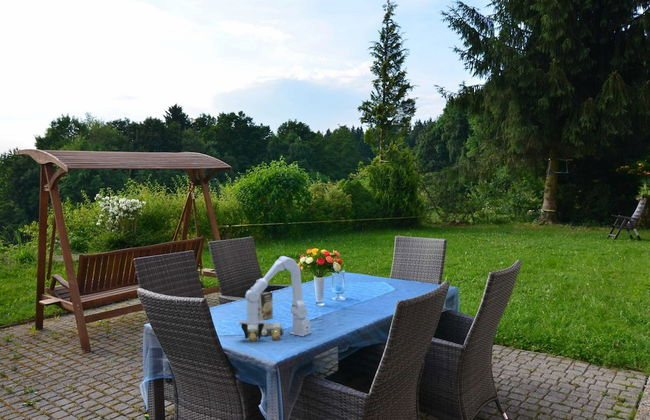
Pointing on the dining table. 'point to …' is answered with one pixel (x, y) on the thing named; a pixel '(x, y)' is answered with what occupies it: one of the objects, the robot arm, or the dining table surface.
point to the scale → (266, 329)
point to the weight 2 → (276, 334)
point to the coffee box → (265, 306)
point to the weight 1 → (253, 336)
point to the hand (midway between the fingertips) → (253, 338)
